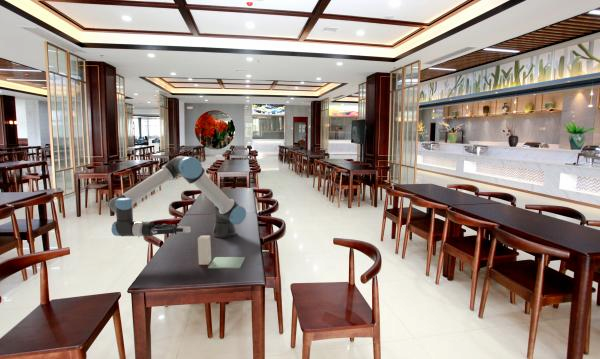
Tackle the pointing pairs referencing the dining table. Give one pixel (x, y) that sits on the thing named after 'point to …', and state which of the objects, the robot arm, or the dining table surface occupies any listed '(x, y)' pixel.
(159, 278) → the dining table surface
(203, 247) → the cream block
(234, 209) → the robot arm
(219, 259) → the sage mat
